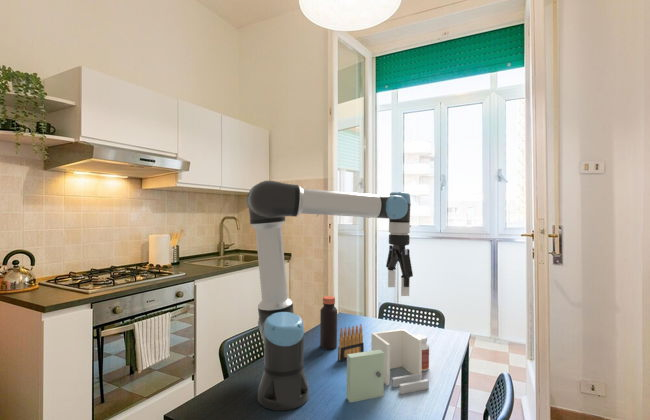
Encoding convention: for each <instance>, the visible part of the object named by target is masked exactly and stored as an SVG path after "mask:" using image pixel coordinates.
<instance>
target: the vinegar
mask: <svg viewBox="0 0 650 420" xmlns="http://www.w3.org/2000/svg"><path fill="white" fill-rule="evenodd" d="M335 304H336V296H333V295H326V296H322V305H323V306H322V307H321V308H320V317H319V320H320V321H319V323H320V324H319V327H320V328H319V329H320V334H319V335H320V337H319V339H320V340H319V343H320V344H319V347H320V348H321V349H323V350H327V351H328V350H334V349H336V348H337V346H338V308H336V306H335Z"/></svg>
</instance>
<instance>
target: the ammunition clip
mask: <svg viewBox="0 0 650 420" xmlns="http://www.w3.org/2000/svg"><path fill="white" fill-rule="evenodd" d="M343 330H344V331H343ZM364 343H365V342H364V336H363V326H362V323H361V324H360V325H358V324H356V325H355V327H354V325H353V326H352V328H351V326H348V328H347V327H345V328H344V329H343V328H342V327H341V328H340V332H339V340H338V351H337V352H338V353H337V361H339V362H347V354H353V353H359V352H365V350H364V347H365V346H364Z"/></svg>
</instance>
